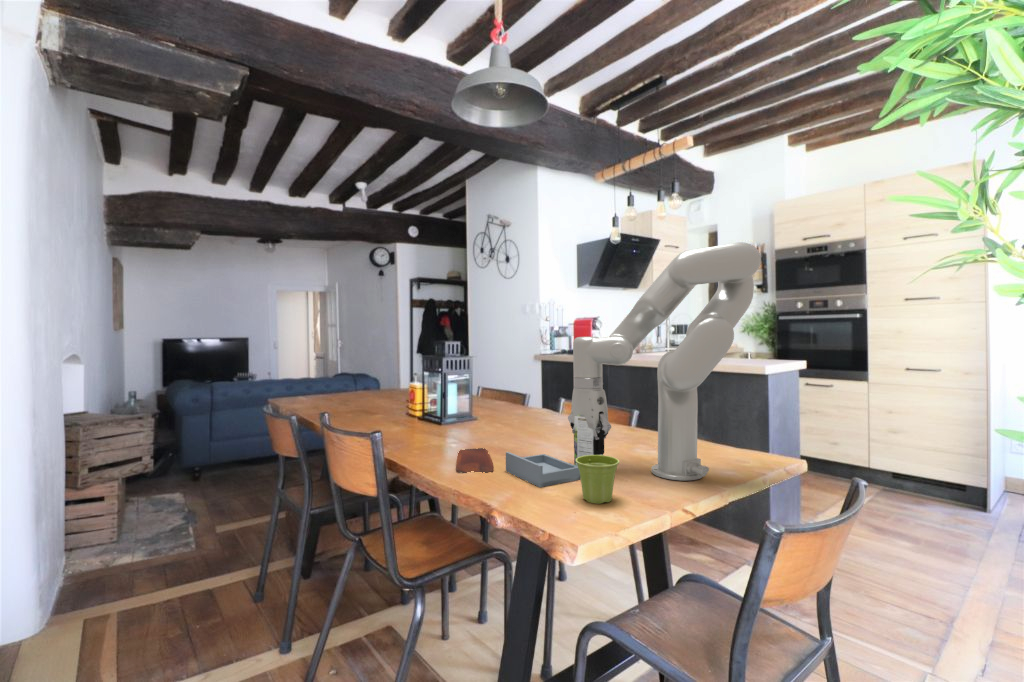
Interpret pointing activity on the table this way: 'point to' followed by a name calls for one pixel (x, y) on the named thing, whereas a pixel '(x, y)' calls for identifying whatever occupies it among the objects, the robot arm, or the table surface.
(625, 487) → the table surface
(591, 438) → the syrup box
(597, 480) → the plant pot
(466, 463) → the wooden tablet
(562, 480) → the tray
